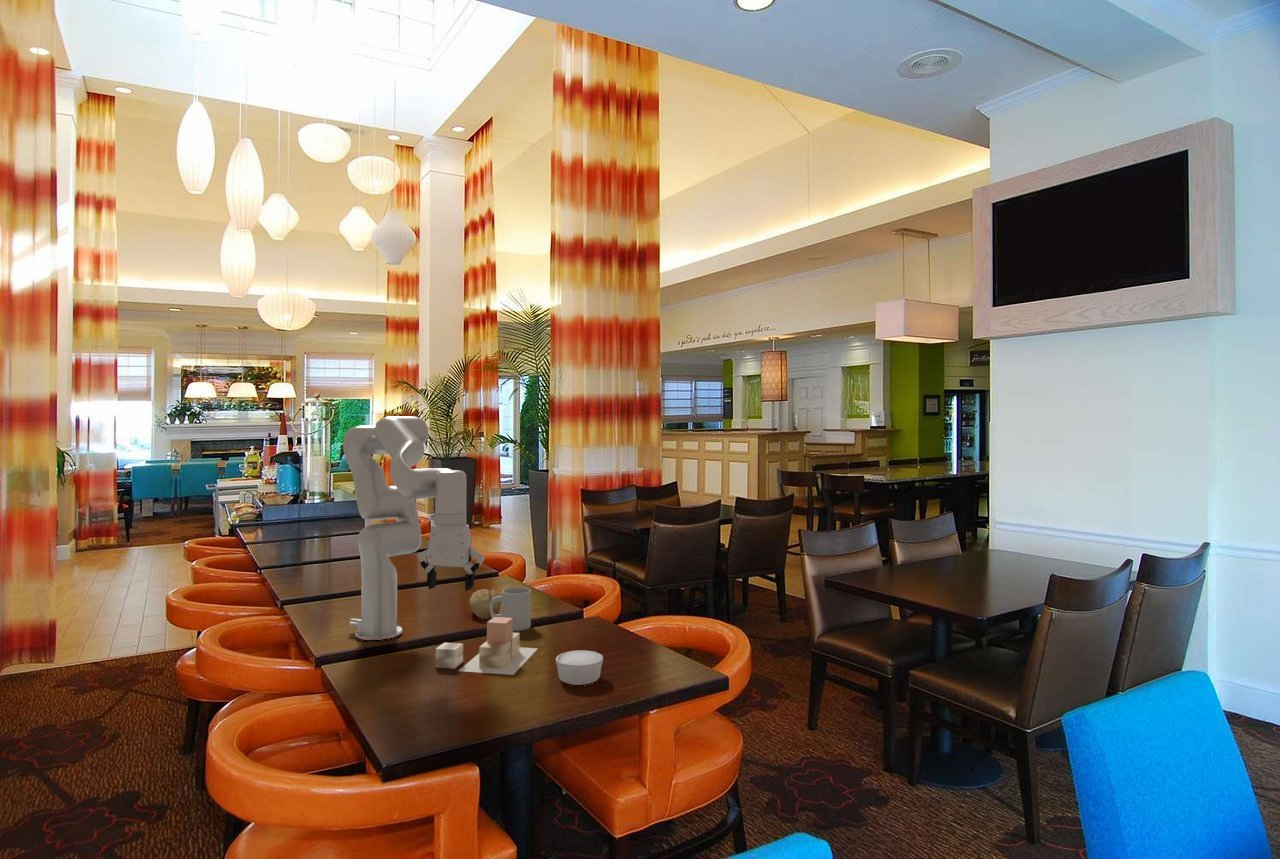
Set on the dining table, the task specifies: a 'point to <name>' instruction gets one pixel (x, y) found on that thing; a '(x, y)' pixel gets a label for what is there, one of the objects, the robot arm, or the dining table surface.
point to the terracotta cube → (499, 629)
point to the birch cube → (449, 655)
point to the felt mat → (508, 669)
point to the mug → (515, 607)
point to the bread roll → (484, 603)
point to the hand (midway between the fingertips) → (450, 588)
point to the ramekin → (579, 667)
